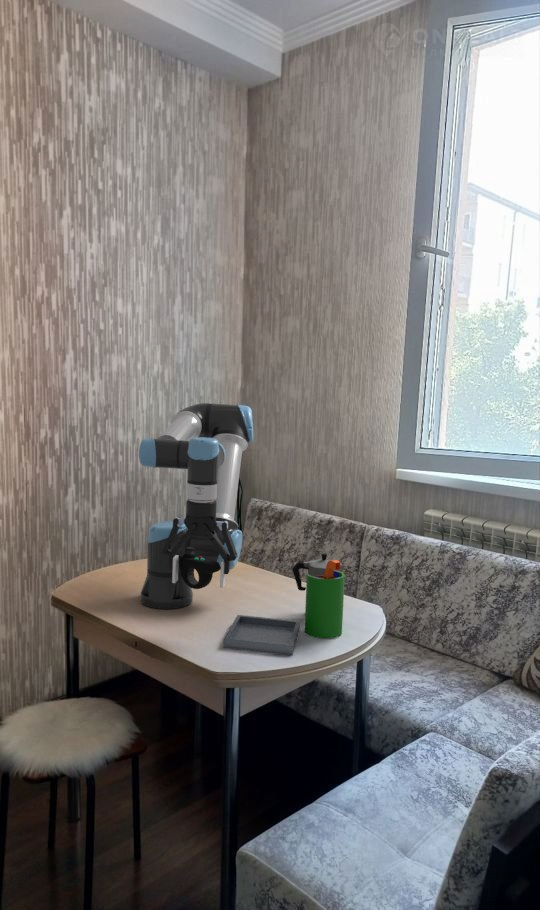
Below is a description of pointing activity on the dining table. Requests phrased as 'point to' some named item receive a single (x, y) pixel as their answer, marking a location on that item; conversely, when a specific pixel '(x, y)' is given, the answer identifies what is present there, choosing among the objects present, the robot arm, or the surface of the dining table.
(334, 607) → the green cylindrical container
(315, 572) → the coffeepot
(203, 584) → the controller
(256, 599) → the dining table surface
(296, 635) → the tray
